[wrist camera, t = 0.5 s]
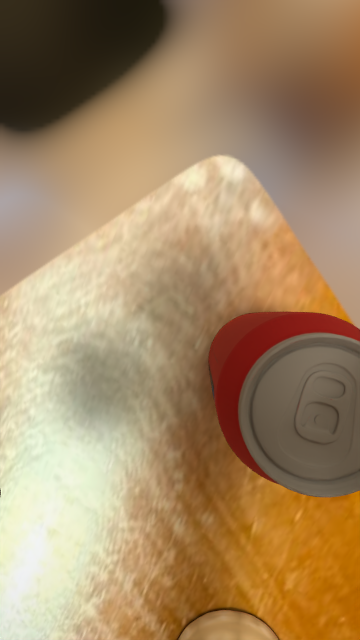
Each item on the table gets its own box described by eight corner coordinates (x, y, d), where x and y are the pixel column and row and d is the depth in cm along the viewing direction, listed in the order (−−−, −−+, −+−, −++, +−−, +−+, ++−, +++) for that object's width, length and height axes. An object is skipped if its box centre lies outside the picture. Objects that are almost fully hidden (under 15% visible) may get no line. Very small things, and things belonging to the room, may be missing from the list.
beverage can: (197, 391, 22) (195, 485, 10) (221, 301, 22) (248, 288, 10) (288, 416, 22) (399, 545, 10) (314, 325, 21) (460, 342, 9)
